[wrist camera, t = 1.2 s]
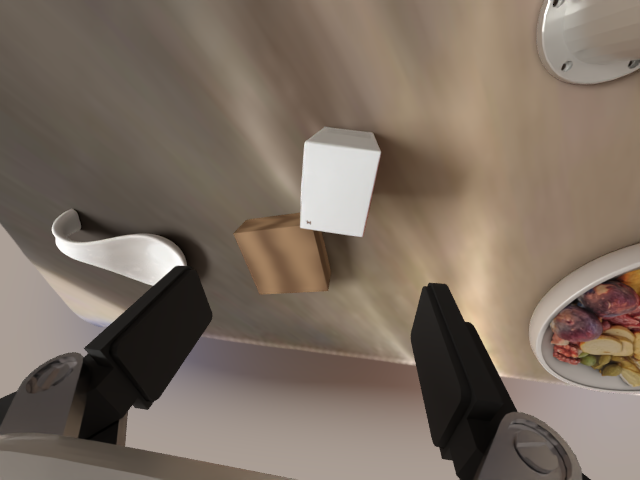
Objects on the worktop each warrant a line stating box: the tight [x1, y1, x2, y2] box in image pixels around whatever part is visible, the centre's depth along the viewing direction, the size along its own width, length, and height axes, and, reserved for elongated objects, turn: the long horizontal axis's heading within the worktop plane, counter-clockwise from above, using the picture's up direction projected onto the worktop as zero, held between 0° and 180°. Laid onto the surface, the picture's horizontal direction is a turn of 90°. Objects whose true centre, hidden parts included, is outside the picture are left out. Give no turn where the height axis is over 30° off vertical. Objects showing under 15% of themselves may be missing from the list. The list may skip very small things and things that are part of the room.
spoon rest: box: [52, 209, 187, 286], centre depth 42 cm, size 24×12×7 cm, turn 71°
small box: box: [300, 127, 381, 237], centre depth 26 cm, size 8×6×13 cm
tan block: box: [233, 213, 331, 294], centre depth 38 cm, size 12×12×5 cm
